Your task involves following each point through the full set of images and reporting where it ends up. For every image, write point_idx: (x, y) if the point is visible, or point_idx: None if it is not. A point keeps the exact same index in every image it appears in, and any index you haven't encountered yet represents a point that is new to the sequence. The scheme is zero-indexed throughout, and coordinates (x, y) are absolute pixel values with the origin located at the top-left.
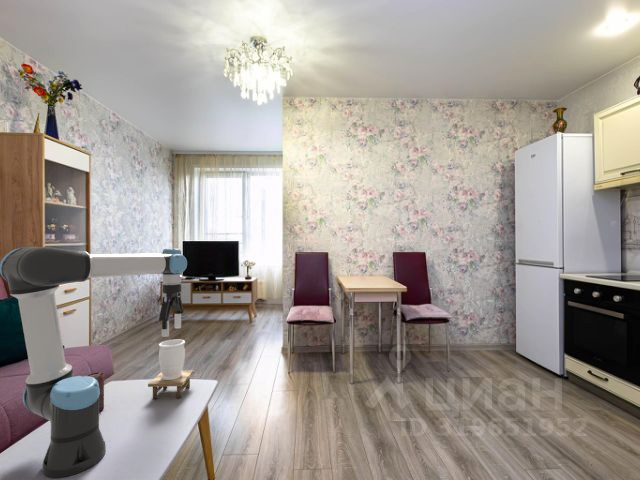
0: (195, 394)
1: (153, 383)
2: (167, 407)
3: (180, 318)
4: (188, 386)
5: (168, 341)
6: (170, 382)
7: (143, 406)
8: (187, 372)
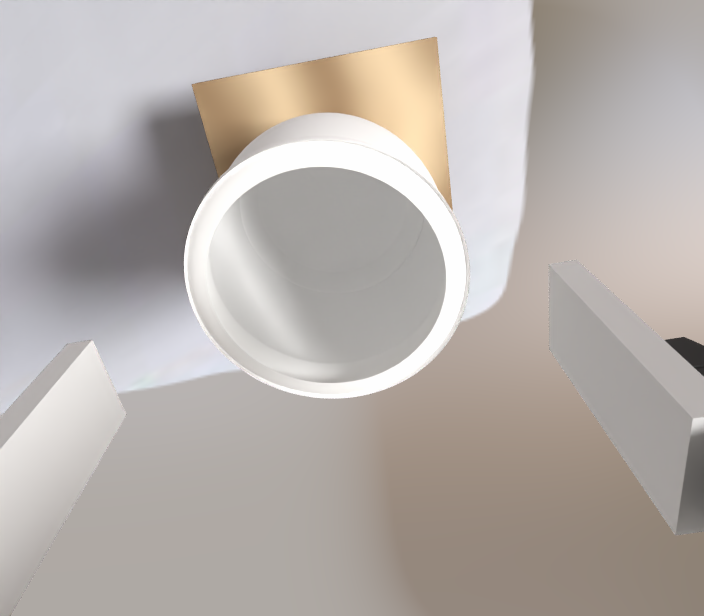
0: None
1: (209, 120)
2: (182, 234)
3: (625, 456)
4: None
5: (417, 179)
6: None
7: (156, 95)
8: None
